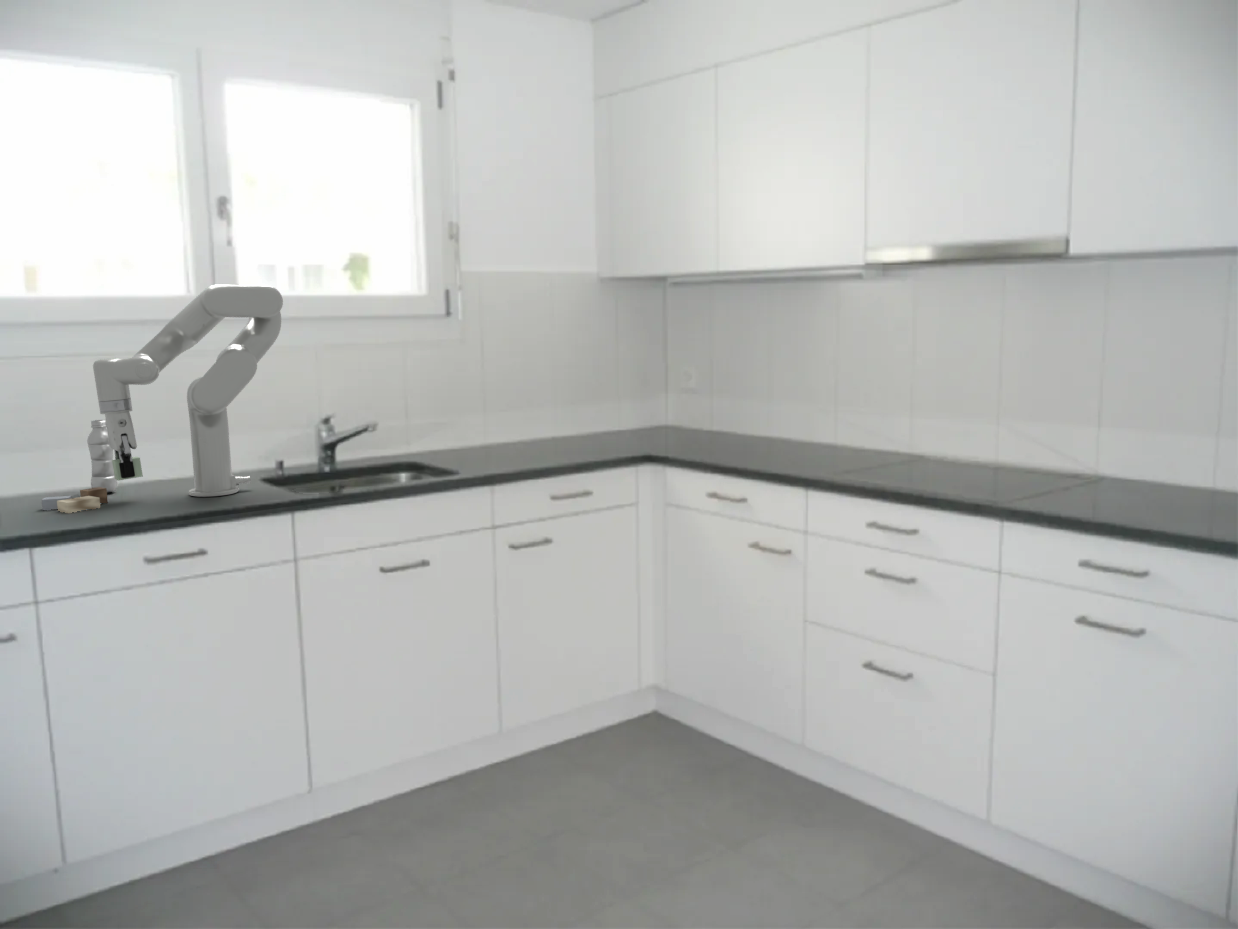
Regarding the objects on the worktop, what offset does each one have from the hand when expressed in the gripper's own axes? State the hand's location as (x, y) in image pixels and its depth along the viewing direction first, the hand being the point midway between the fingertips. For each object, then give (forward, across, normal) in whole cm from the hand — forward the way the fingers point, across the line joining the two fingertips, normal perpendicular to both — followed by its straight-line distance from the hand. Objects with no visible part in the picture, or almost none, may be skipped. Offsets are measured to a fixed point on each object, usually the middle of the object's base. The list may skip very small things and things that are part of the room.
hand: (126, 475), depth 261 cm
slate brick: (+6, +1, +17) cm, 18 cm away
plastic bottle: (+7, +17, +3) cm, 19 cm away
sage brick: (+1, 0, 0) cm, 1 cm away
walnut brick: (+6, +1, +8) cm, 10 cm away
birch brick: (+6, -5, +13) cm, 15 cm away
